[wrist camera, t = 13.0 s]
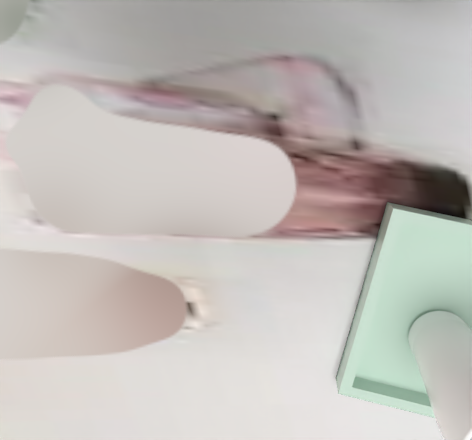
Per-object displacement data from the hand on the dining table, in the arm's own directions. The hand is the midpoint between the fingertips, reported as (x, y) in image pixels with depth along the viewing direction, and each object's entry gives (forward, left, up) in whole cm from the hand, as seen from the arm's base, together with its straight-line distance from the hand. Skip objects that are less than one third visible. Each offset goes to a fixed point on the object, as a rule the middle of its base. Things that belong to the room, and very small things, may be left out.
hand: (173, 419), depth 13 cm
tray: (+6, +19, -29) cm, 35 cm away
